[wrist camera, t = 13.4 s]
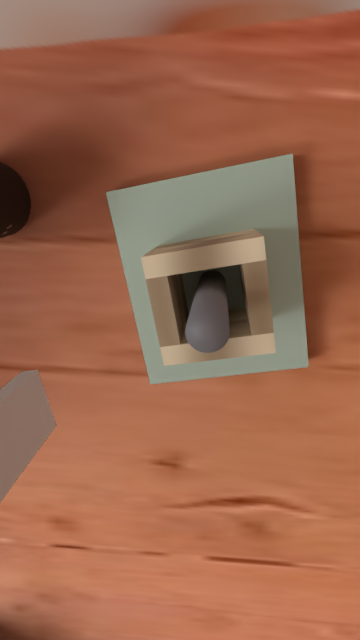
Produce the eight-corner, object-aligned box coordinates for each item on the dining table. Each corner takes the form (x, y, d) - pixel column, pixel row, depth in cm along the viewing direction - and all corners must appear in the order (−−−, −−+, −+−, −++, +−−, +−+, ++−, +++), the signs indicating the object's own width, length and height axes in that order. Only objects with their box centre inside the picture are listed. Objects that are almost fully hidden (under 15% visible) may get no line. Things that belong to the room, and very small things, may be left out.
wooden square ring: (175, 332, 32) (163, 365, 25) (158, 245, 29) (140, 257, 23) (263, 320, 30) (275, 352, 24) (253, 228, 28) (263, 236, 21)
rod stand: (153, 377, 35) (114, 475, 22) (111, 192, 30) (29, 184, 17) (304, 359, 33) (358, 459, 20) (288, 156, 27) (348, 114, 15)
